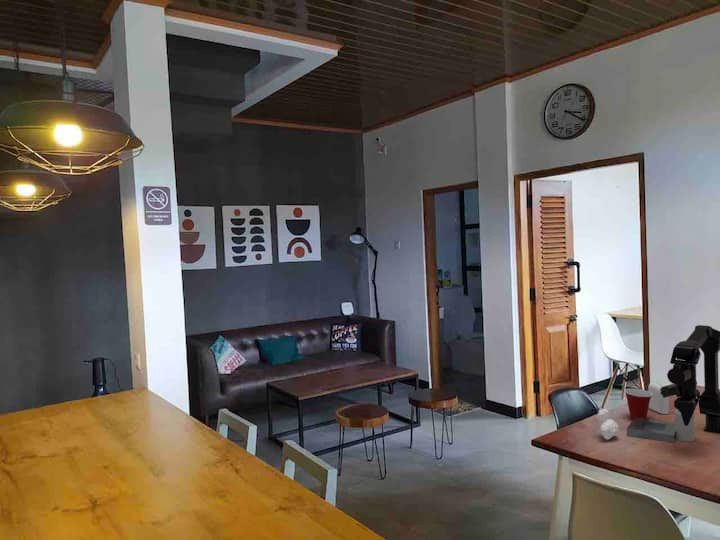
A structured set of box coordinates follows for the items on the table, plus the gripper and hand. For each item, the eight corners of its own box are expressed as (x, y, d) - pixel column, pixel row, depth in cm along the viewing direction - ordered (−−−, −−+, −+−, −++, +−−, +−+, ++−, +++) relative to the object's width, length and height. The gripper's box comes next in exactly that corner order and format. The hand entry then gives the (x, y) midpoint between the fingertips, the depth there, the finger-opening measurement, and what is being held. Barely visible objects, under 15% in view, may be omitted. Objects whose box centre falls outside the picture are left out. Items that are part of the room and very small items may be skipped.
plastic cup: (652, 424, 224) (652, 395, 224) (623, 421, 230) (622, 393, 230) (654, 417, 234) (653, 389, 233) (626, 413, 239) (625, 386, 239)
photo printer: (647, 407, 247) (646, 380, 246) (656, 407, 247) (655, 380, 246) (661, 414, 236) (660, 386, 236) (670, 414, 237) (670, 386, 236)
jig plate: (635, 424, 226) (635, 417, 225) (679, 431, 216) (679, 423, 216) (626, 435, 213) (626, 428, 213) (673, 443, 203) (673, 435, 203)
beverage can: (693, 438, 209) (692, 407, 208) (696, 444, 203) (695, 412, 202) (674, 436, 211) (673, 406, 211) (676, 442, 205) (675, 411, 205)
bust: (615, 444, 204) (615, 415, 204) (594, 441, 209) (593, 412, 208) (621, 434, 214) (620, 406, 214) (600, 431, 219) (600, 404, 218)
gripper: (665, 371, 208) (666, 411, 209) (657, 382, 193) (658, 425, 194) (699, 374, 201) (700, 416, 202) (693, 386, 187) (694, 430, 187)
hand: (687, 421), depth 197 cm, fingers open, 9 cm apart
